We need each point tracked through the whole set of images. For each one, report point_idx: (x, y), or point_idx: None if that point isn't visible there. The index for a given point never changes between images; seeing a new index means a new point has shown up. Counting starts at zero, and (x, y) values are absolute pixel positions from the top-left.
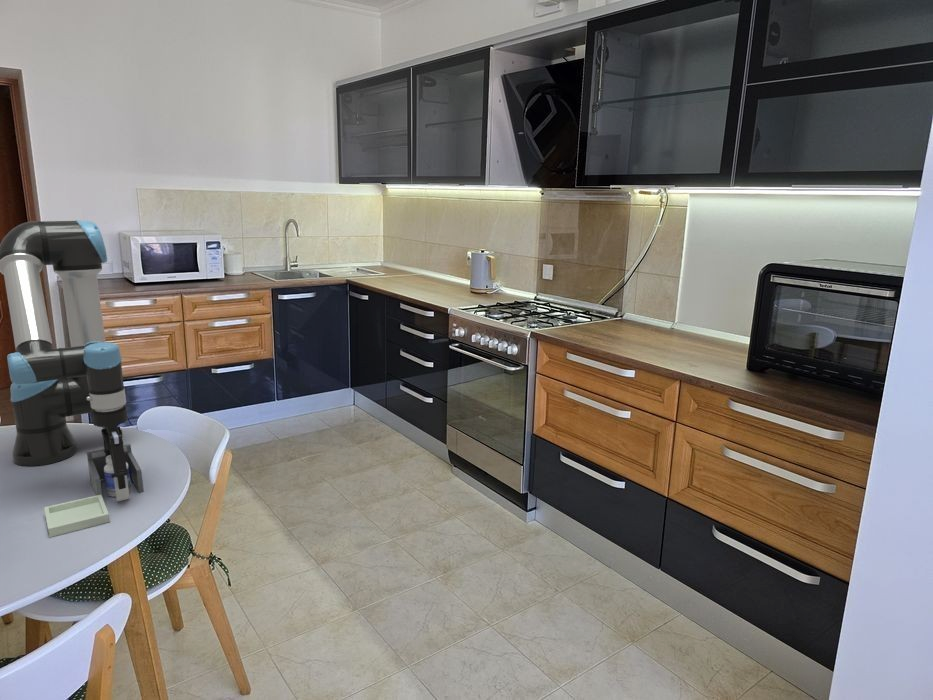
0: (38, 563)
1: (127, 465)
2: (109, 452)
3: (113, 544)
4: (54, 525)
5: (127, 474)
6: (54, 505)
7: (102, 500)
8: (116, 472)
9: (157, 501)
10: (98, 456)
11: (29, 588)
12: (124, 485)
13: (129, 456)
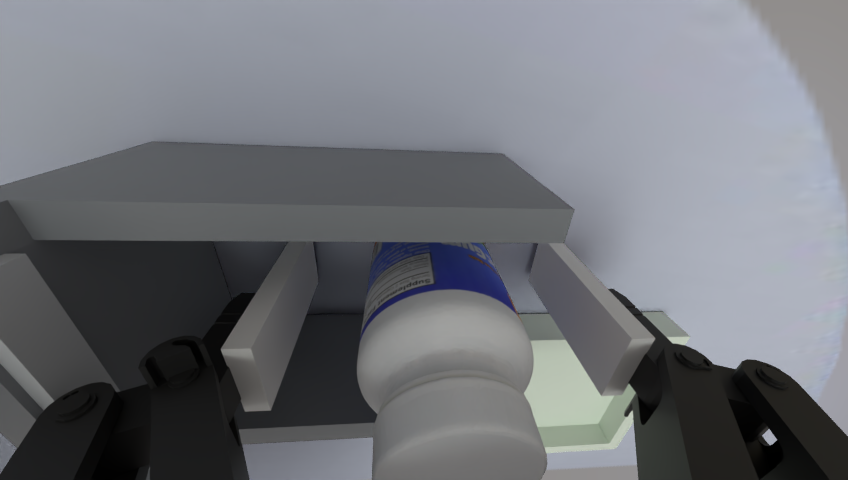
0: None
1: (498, 317)
2: (243, 471)
3: (807, 317)
4: (561, 422)
5: (775, 368)
6: None
7: (552, 342)
8: (762, 451)
9: (675, 118)
10: None
11: (774, 439)
12: (629, 307)
13: (162, 239)
